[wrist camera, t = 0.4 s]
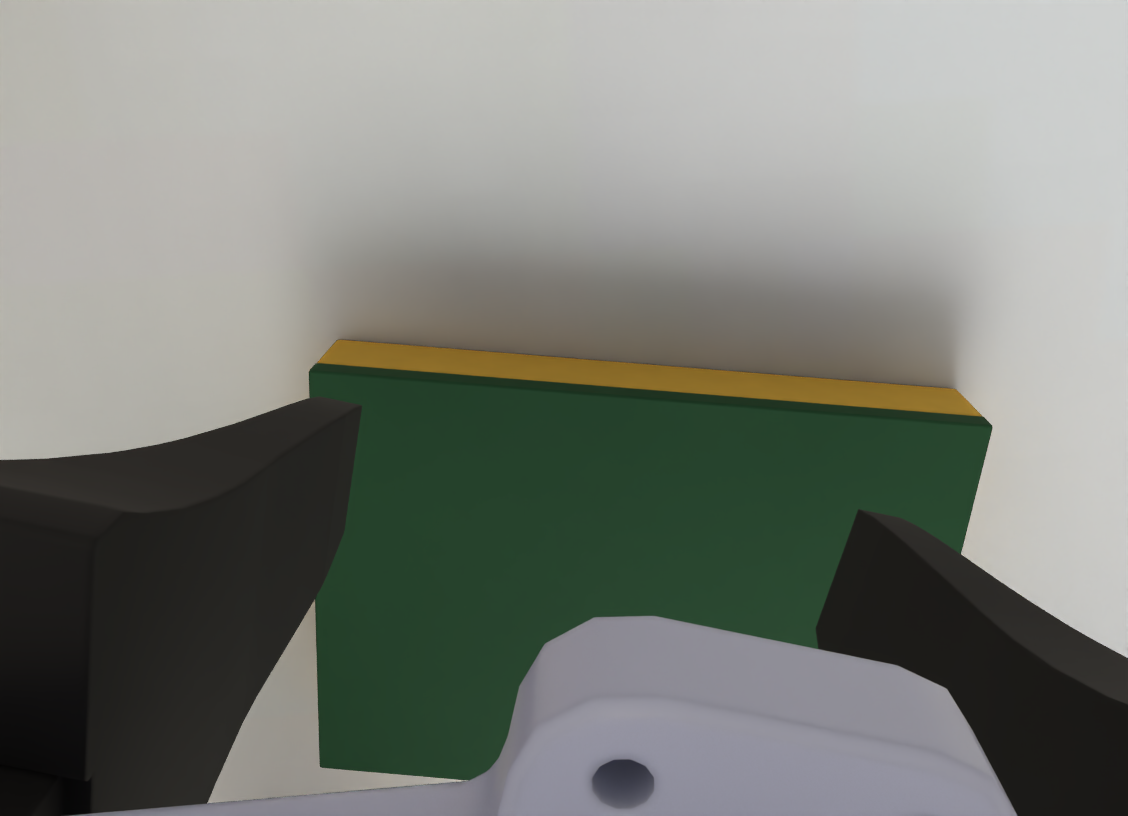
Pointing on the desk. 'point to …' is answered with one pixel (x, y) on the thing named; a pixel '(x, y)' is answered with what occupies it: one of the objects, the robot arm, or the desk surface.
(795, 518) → the sponge
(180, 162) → the desk surface
